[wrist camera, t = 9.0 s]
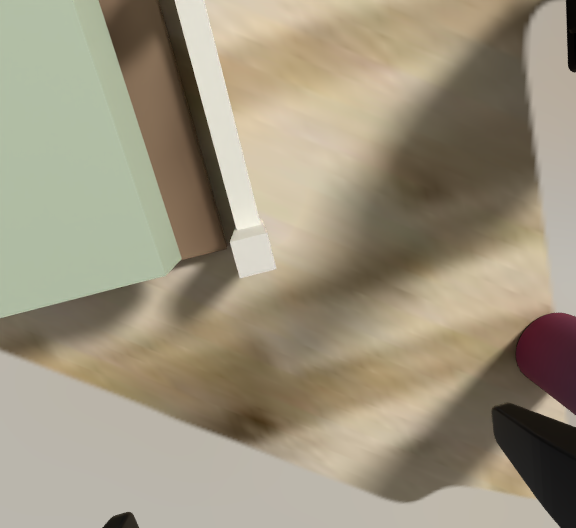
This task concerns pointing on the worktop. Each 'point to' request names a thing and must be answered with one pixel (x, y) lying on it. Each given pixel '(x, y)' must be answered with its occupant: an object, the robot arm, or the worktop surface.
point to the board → (71, 163)
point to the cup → (551, 356)
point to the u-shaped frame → (225, 141)
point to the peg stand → (165, 123)
